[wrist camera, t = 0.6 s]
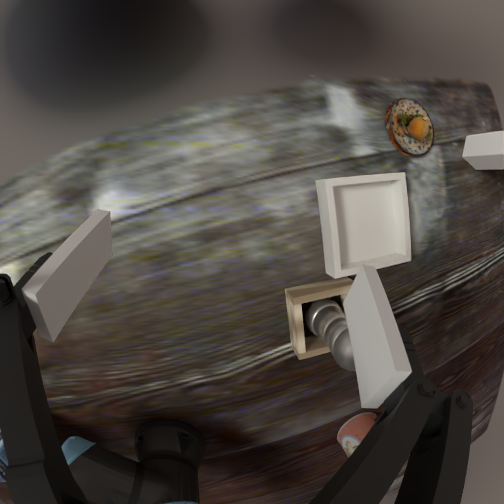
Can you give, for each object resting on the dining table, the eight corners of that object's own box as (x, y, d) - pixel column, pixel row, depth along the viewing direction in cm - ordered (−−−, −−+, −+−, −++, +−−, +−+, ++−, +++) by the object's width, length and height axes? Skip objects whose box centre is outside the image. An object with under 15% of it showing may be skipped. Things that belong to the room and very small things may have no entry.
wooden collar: (347, 331, 55) (359, 342, 50) (291, 346, 54) (299, 359, 49) (345, 275, 53) (358, 283, 48) (284, 288, 51) (293, 298, 47)
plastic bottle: (335, 292, 53) (397, 337, 34) (333, 326, 54) (389, 381, 35) (301, 296, 52) (353, 347, 33) (301, 331, 53) (347, 393, 34)
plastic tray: (399, 256, 54) (411, 260, 50) (325, 273, 52) (335, 278, 48) (392, 173, 51) (404, 172, 47) (315, 180, 49) (324, 179, 45)
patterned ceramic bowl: (436, 137, 52) (460, 133, 45) (407, 168, 52) (432, 166, 45) (405, 90, 49) (427, 80, 42) (373, 117, 49) (395, 108, 42)
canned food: (343, 416, 59) (365, 449, 48) (383, 408, 61) (408, 437, 50) (332, 448, 61) (350, 480, 50) (370, 440, 63) (391, 469, 51)
